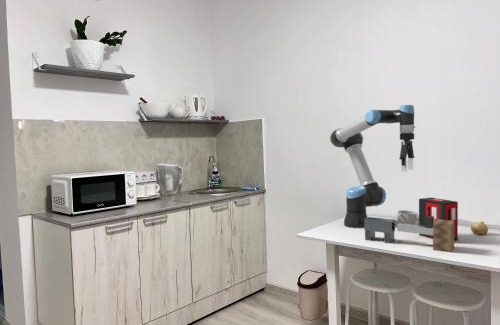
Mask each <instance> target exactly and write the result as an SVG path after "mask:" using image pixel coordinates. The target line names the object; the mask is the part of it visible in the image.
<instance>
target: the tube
mask: <svg viewBox="0 0 500 325" xmlns="http://www.w3.org/2000/svg"><path fill="white" fill-rule="evenodd" d="M433 222H434V216H426V217H425V226H422V225H419V224H413V225H412V224H403V223H400V222H398V223H397V226H396V228H397V229H396V230H397V232H402V233H410V234H418V235H419V234H427V235H433Z"/></svg>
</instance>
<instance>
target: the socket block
mask: <svg viewBox="0 0 500 325" xmlns="http://www.w3.org/2000/svg"><path fill="white" fill-rule="evenodd" d="M454 249H455V241H454V221H451V220H441V219H437V220H435V221H434V222H433V239H432V251H438V250H439V252H445V251H446V253H452V252H453V250H454Z"/></svg>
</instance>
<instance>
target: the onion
mask: <svg viewBox="0 0 500 325" xmlns="http://www.w3.org/2000/svg"><path fill="white" fill-rule="evenodd" d="M470 230H471V231H470V232H472V233H473V235H477V236H479V235H482V236H484V235H486V234H488V233H489V232H488V231H489V227H488V225H487V224H486V223H485V222H484V221H480V222H473V223H472V225H470Z"/></svg>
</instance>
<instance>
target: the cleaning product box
mask: <svg viewBox="0 0 500 325" xmlns="http://www.w3.org/2000/svg"><path fill="white" fill-rule="evenodd" d="M458 203H459V202H458V201H456V200H449V199H443V198H435V197H425V198H418V225H422V226H425V217H426V216H434V221H435V220H437V219H441V220H451V221H454V242H457V241H458V240H459V239H458V237H459V236H458V234H459V233H458V232H459V231H458V227H459V226H458V222H459V220H458V217H459V216H458V214H459V212H458V208H459V207H458V206H459V204H458ZM418 236H420V237H424V238H427V239H431V240H433V235H427V234H418Z"/></svg>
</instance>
